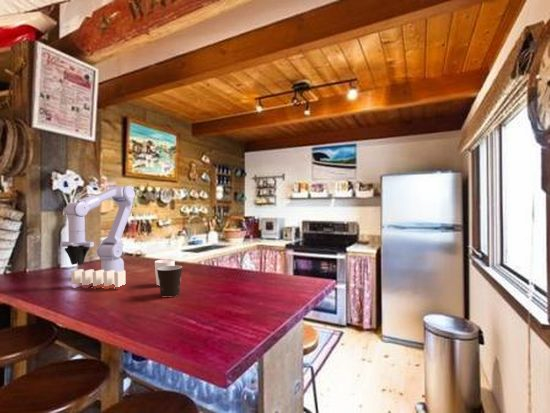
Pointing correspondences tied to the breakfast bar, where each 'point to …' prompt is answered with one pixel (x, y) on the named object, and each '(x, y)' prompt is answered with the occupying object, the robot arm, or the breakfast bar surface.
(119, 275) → the domino
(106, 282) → the domino
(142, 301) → the breakfast bar surface
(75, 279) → the domino
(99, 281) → the domino
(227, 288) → the breakfast bar surface
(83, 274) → the domino
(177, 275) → the coffee mug
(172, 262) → the white cup
